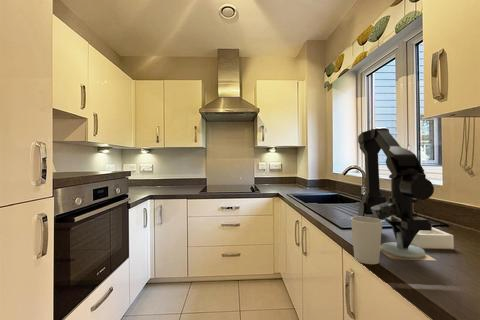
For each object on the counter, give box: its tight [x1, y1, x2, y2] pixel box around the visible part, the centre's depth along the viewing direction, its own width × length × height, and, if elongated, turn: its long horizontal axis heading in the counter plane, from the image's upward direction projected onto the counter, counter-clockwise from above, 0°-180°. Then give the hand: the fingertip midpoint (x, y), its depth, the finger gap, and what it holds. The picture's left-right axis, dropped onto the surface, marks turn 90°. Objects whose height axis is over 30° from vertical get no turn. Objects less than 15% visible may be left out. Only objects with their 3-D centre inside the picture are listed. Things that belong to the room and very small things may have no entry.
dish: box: [410, 226, 455, 250], centre depth 85 cm, size 10×10×5 cm
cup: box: [350, 215, 384, 265], centre depth 72 cm, size 8×8×12 cm
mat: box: [380, 244, 438, 262], centre depth 78 cm, size 12×12×1 cm
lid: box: [381, 232, 426, 258], centre depth 78 cm, size 11×11×6 cm
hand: (402, 246), depth 78 cm, fingers closed on lid, 3 cm apart
